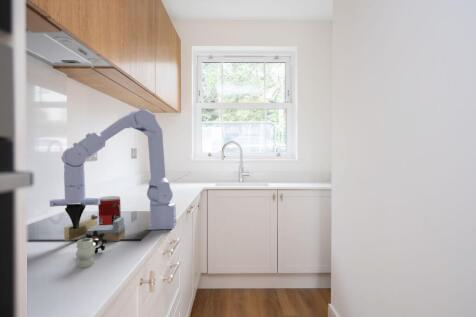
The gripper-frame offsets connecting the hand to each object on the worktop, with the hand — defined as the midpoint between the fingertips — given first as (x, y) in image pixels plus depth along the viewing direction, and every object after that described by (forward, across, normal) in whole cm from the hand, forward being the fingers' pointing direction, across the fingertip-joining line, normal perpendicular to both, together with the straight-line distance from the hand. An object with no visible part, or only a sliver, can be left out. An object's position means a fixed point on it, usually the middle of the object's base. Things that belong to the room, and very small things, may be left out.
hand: (76, 228), depth 96 cm
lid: (+2, +8, +4) cm, 9 cm away
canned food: (+5, +4, +21) cm, 22 cm away
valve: (+5, +10, -16) cm, 20 cm away
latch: (+3, 0, +5) cm, 6 cm away
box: (+5, +8, +4) cm, 10 cm away
